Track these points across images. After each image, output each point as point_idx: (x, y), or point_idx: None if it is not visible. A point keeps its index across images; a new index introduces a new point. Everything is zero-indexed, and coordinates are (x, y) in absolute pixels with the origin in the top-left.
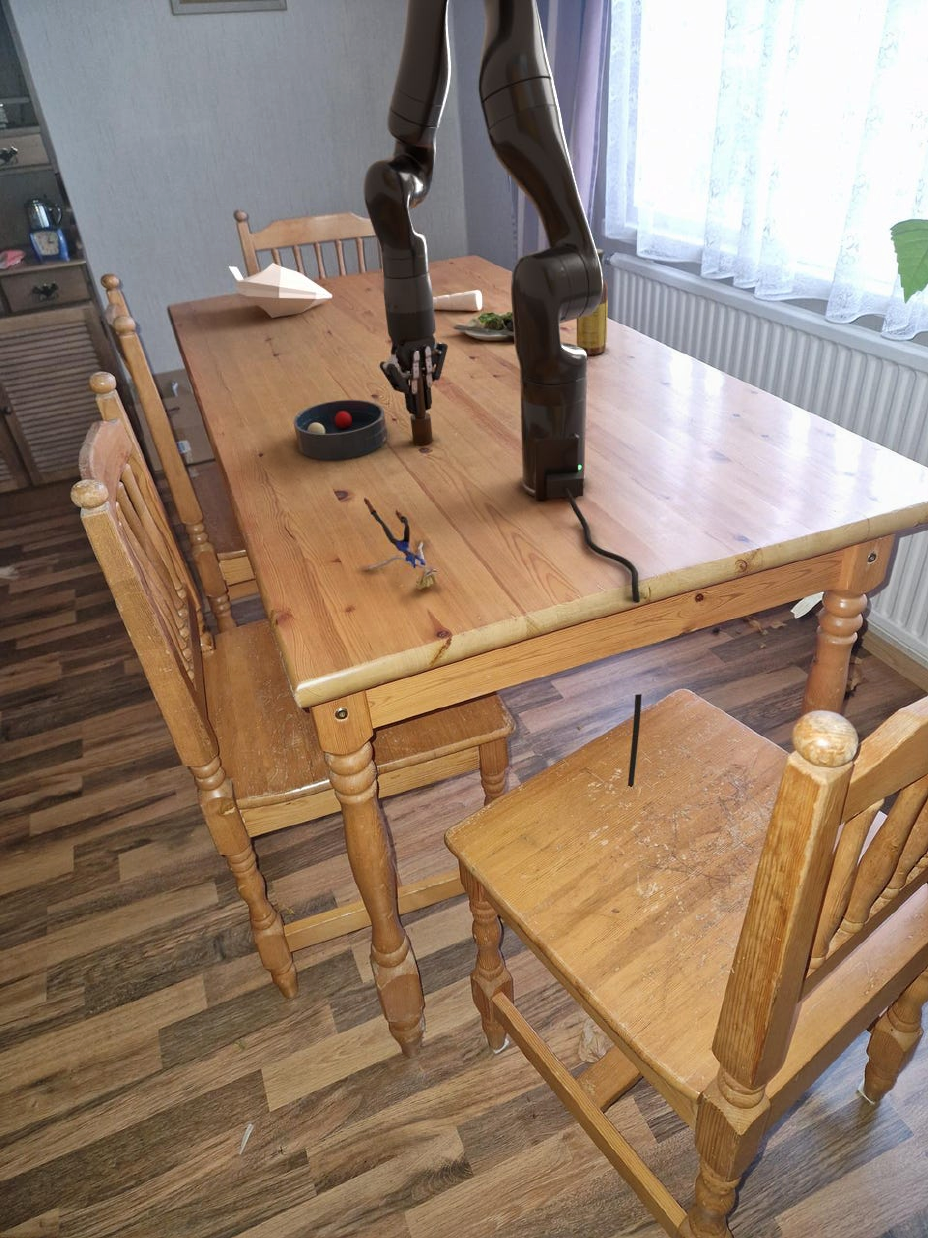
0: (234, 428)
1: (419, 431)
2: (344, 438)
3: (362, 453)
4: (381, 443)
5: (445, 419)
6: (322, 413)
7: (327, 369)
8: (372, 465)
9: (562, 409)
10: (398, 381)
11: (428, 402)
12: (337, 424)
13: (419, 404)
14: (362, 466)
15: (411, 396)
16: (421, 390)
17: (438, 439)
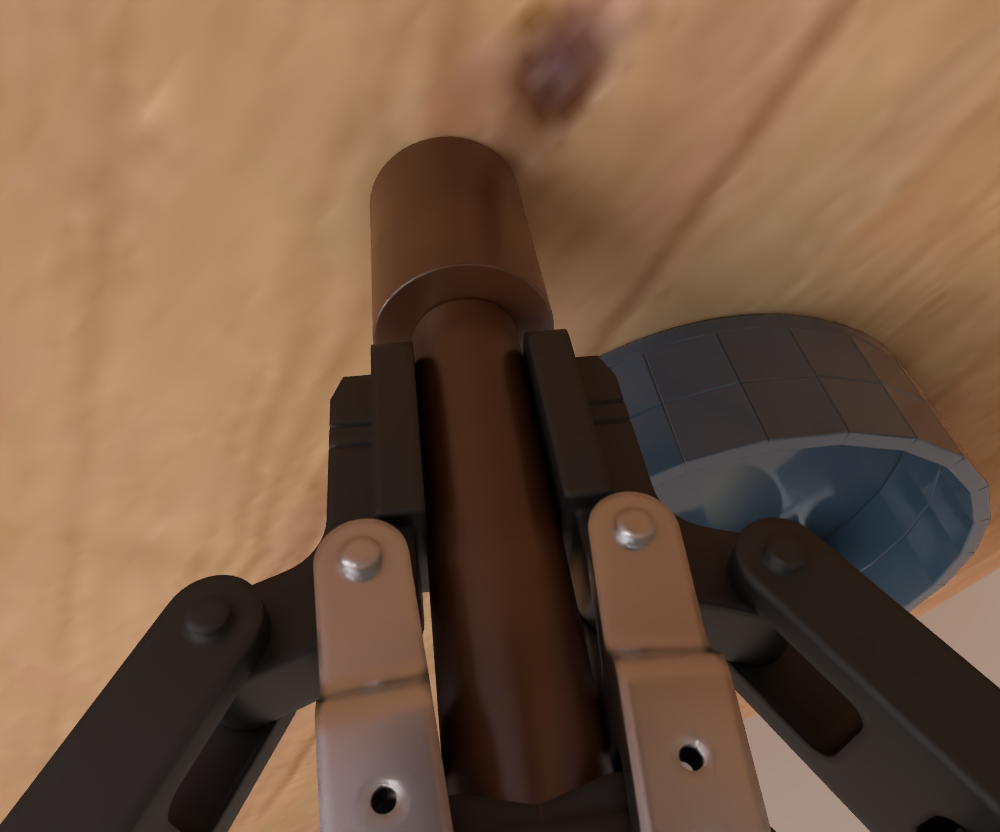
0: None
1: (525, 228)
2: (936, 427)
3: (810, 323)
4: (653, 345)
5: (90, 353)
6: None
7: (259, 814)
8: (918, 175)
9: None
10: (966, 677)
11: (404, 388)
12: None
13: (517, 400)
14: (946, 211)
15: (638, 484)
16: (504, 511)
17: (339, 144)
